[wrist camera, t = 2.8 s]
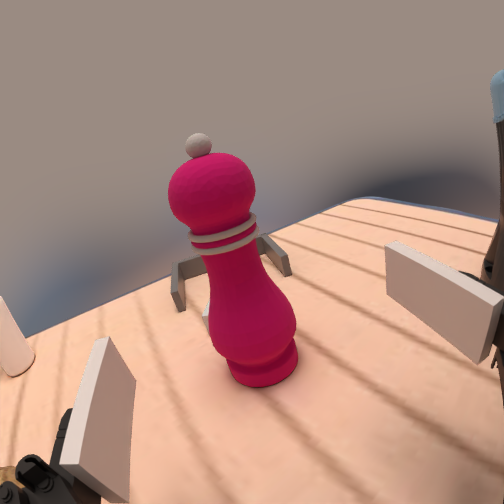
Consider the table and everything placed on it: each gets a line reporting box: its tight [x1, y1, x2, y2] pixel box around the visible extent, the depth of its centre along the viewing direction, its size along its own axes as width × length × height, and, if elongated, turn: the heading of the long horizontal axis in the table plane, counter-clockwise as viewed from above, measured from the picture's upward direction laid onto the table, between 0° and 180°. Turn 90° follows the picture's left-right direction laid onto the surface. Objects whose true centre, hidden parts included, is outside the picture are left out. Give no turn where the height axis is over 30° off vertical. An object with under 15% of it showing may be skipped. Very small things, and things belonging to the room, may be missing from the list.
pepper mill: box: [168, 133, 298, 387], centre depth 22 cm, size 7×7×20 cm
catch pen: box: [171, 233, 292, 312], centre depth 44 cm, size 16×11×3 cm
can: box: [0, 296, 34, 377], centre depth 30 cm, size 6×6×12 cm
